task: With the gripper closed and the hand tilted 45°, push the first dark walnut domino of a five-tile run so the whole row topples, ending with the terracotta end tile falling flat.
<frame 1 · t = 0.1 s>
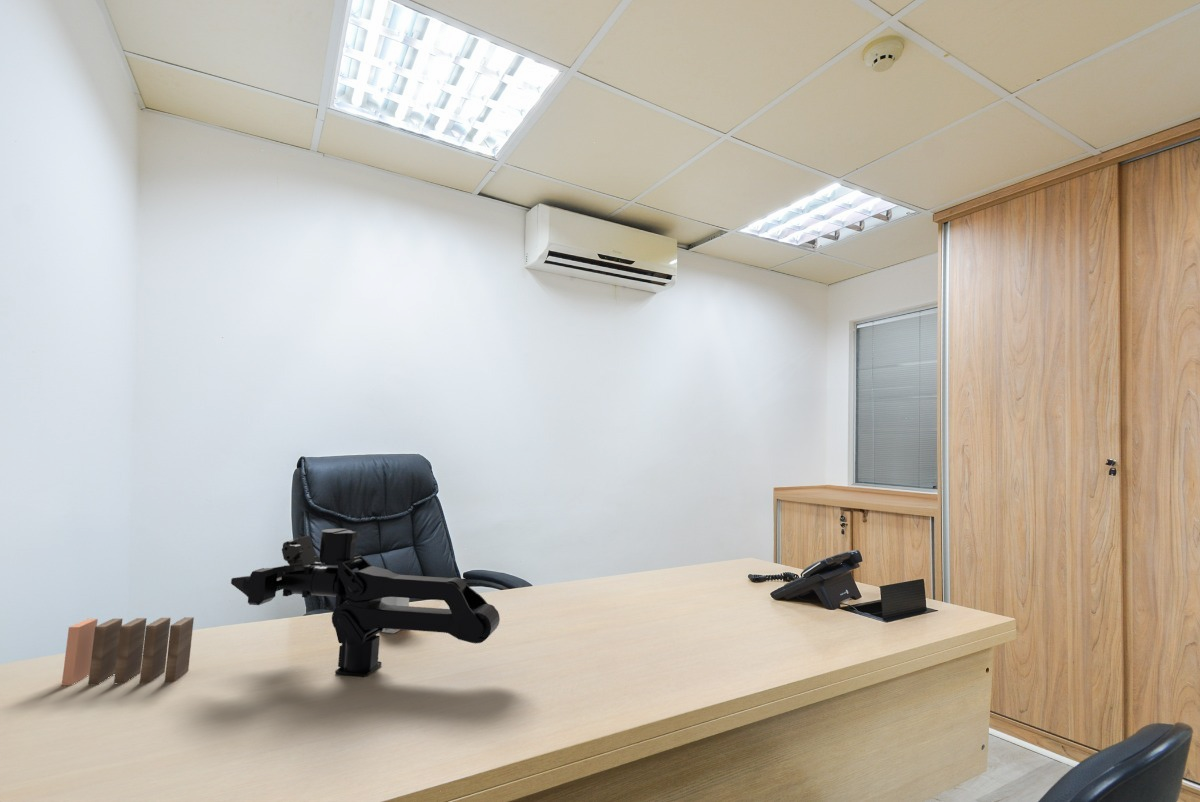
hand: (248, 576, 116), 17 cm above the table, tool horizontal, fingers open, 9 cm apart
domino 2: (152, 677, 105), on the table
domino 5: (76, 679, 102), on the table
skincare box: (393, 630, 137), on the table
domino 4: (102, 679, 103), on the table
domino 3: (127, 678, 104), on the table
domino 1: (176, 676, 105), on the table
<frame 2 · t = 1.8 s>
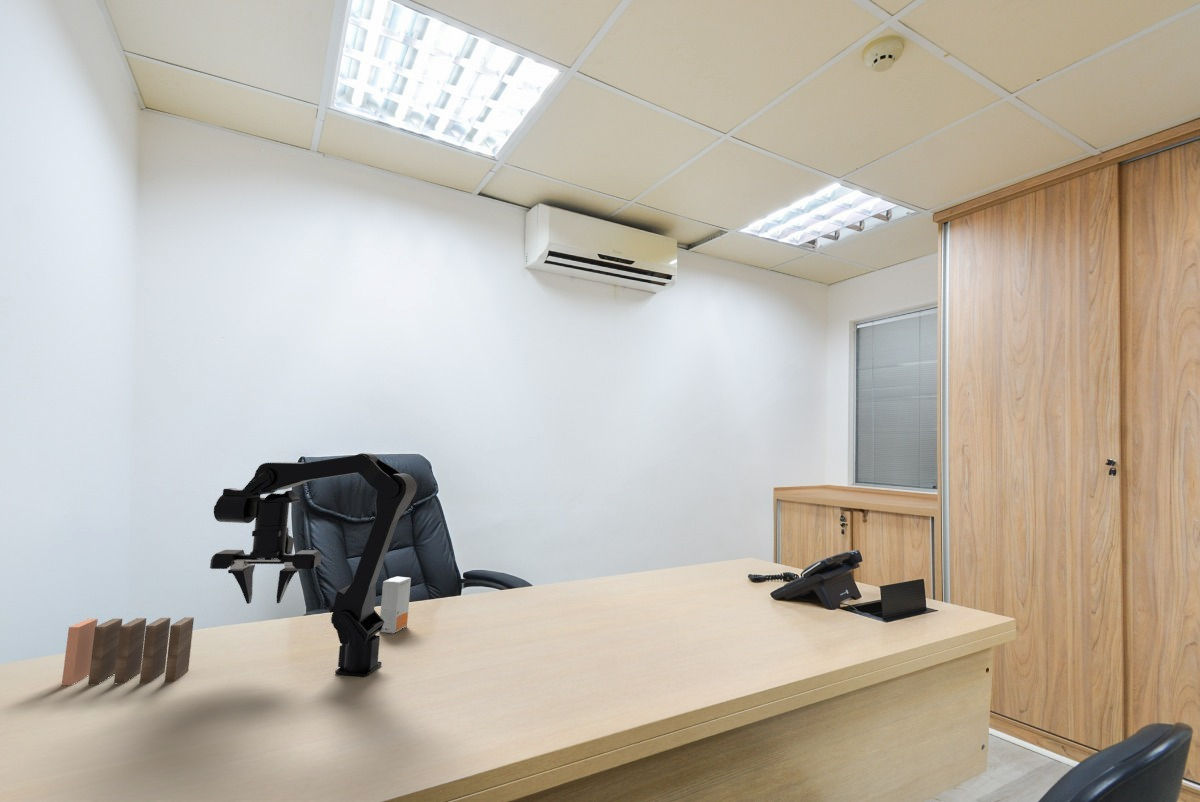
hand: (263, 603, 113), 12 cm above the table, tool pointing down, fingers open, 5 cm apart
nothing on the table moved.
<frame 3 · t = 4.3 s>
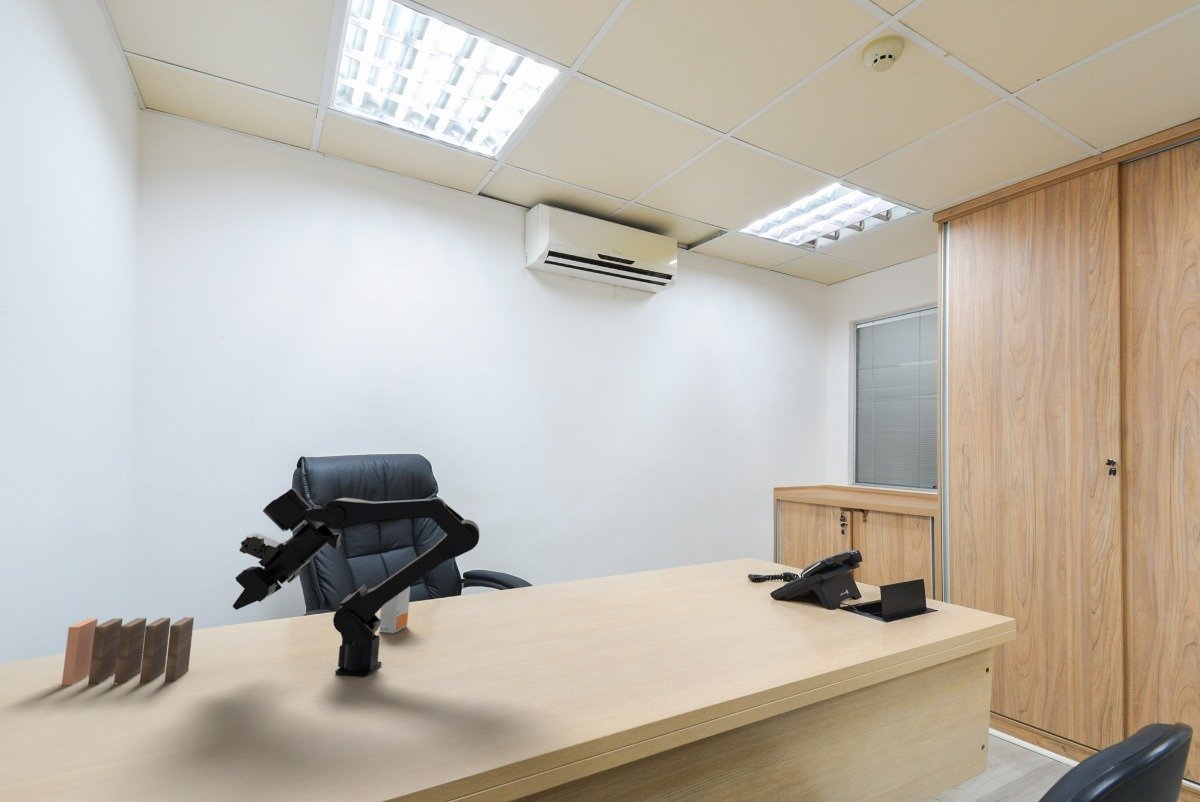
hand: (234, 607, 108), 12 cm above the table, tool tilted 45°, fingers closed
nothing on the table moved.
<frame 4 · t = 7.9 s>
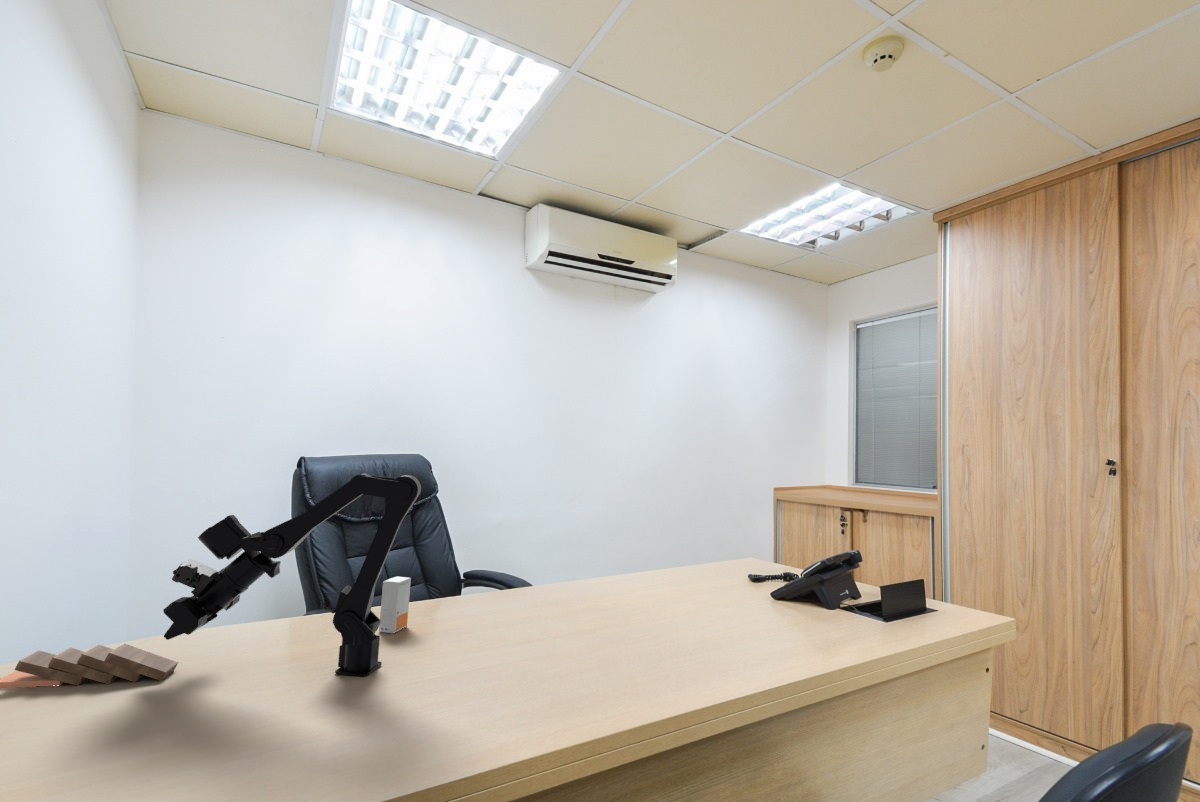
hand: (166, 637, 105), 7 cm above the table, tool tilted 45°, fingers closed
domino 2: (144, 672, 105), point 1 cm above the table, tilted 67°, touching domino 1, domino 3
domino 5: (69, 679, 102), on the table, tilted 90°, touching domino 4
domino 4: (88, 675, 102), point 1 cm above the table, tilted 71°, touching domino 3, domino 5
domino 3: (118, 674, 103), point 1 cm above the table, tilted 69°, touching domino 2, domino 4
domino 1: (169, 671, 106), point 1 cm above the table, tilted 67°, touching domino 2
everything else where it was.
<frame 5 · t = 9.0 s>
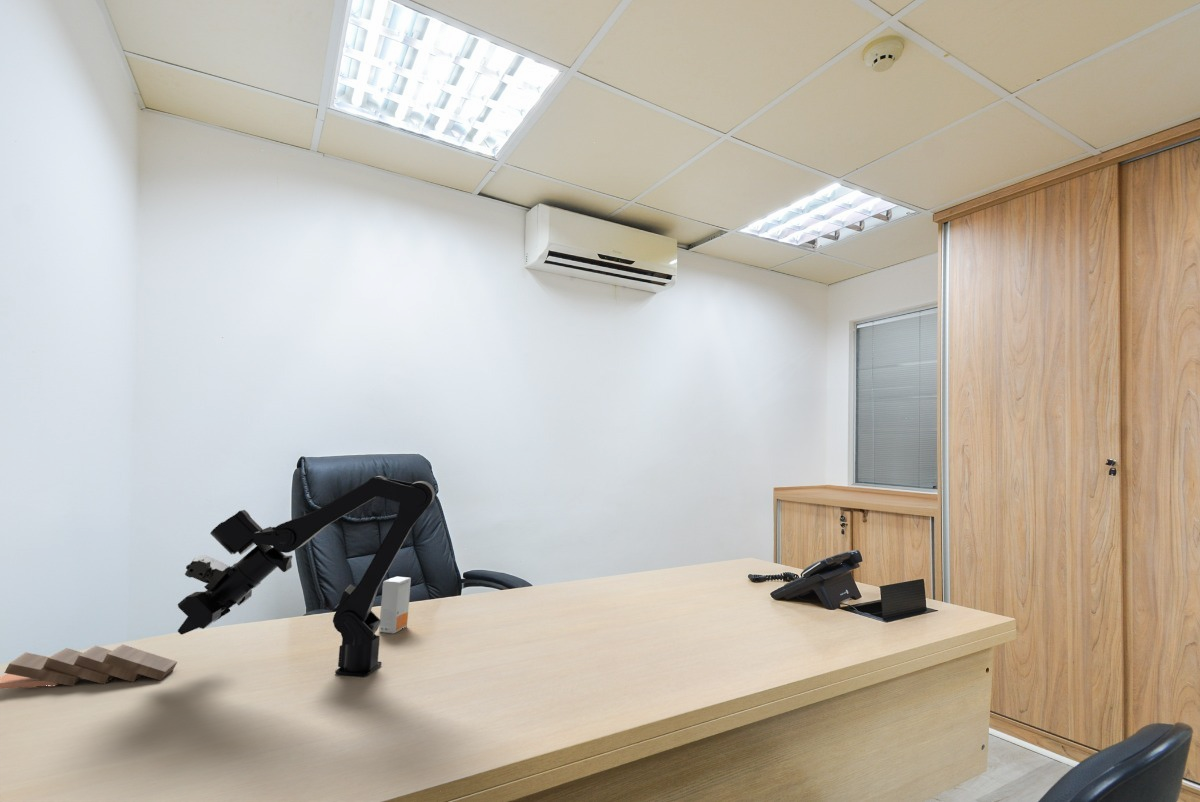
hand: (180, 632, 106), 8 cm above the table, tool tilted 45°, fingers closed
domino 2: (142, 672, 105), point 1 cm above the table, tilted 68°, touching domino 1, domino 3
domino 4: (81, 675, 102), point 1 cm above the table, tilted 71°, touching domino 5
domino 3: (114, 674, 103), point 1 cm above the table, tilted 69°, touching domino 2
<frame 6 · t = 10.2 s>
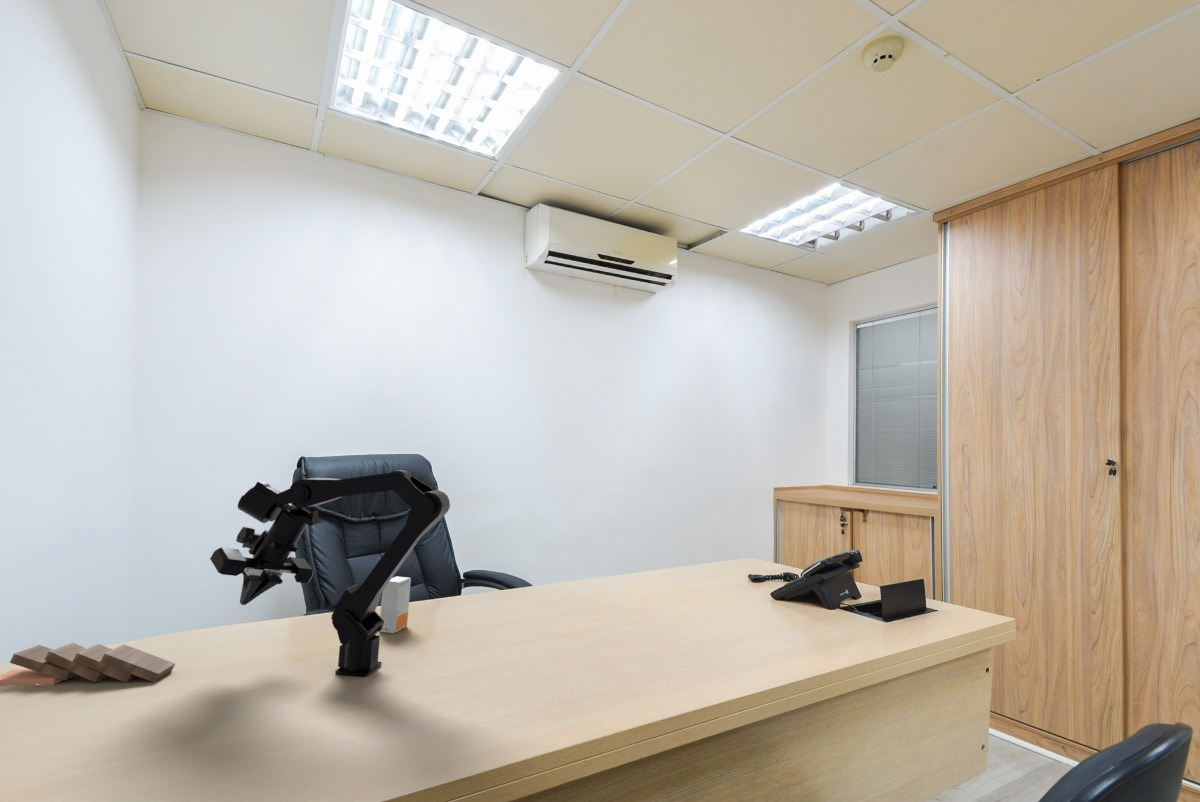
hand: (242, 603, 113), 12 cm above the table, tool tilted 25°, fingers closed
domino 5: (64, 677, 102), on the table, tilted 90°
domino 4: (78, 671, 103), point 1 cm above the table, tilted 73°, touching domino 3
domino 3: (109, 673, 103), point 1 cm above the table, tilted 68°, touching domino 2, domino 4
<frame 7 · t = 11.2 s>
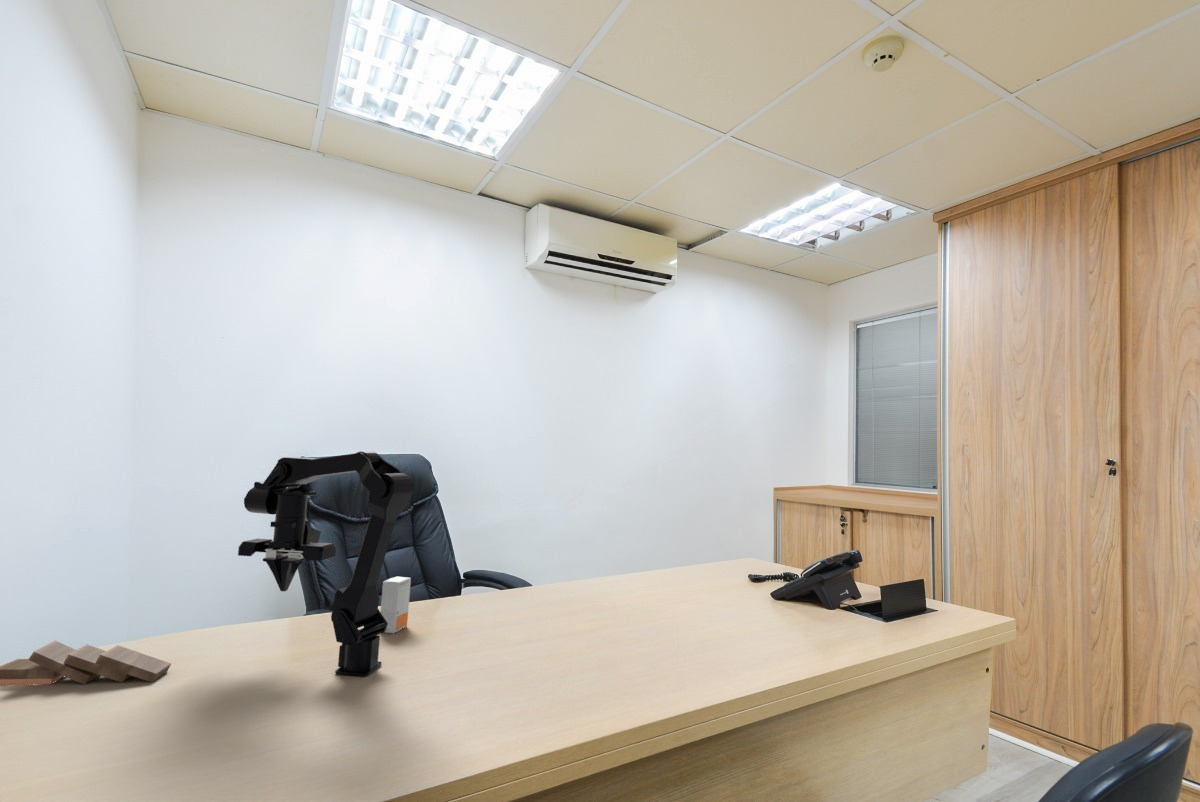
hand: (283, 590, 119), 13 cm above the table, tool pointing down, fingers closed
domino 2: (132, 672, 104), point 1 cm above the table, tilted 67°, touching domino 1
domino 5: (61, 677, 102), on the table, tilted 90°, touching domino 4
domino 4: (65, 668, 102), point 2 cm above the table, tilted 90°, touching domino 5
domino 3: (96, 674, 103), point 1 cm above the table, tilted 62°
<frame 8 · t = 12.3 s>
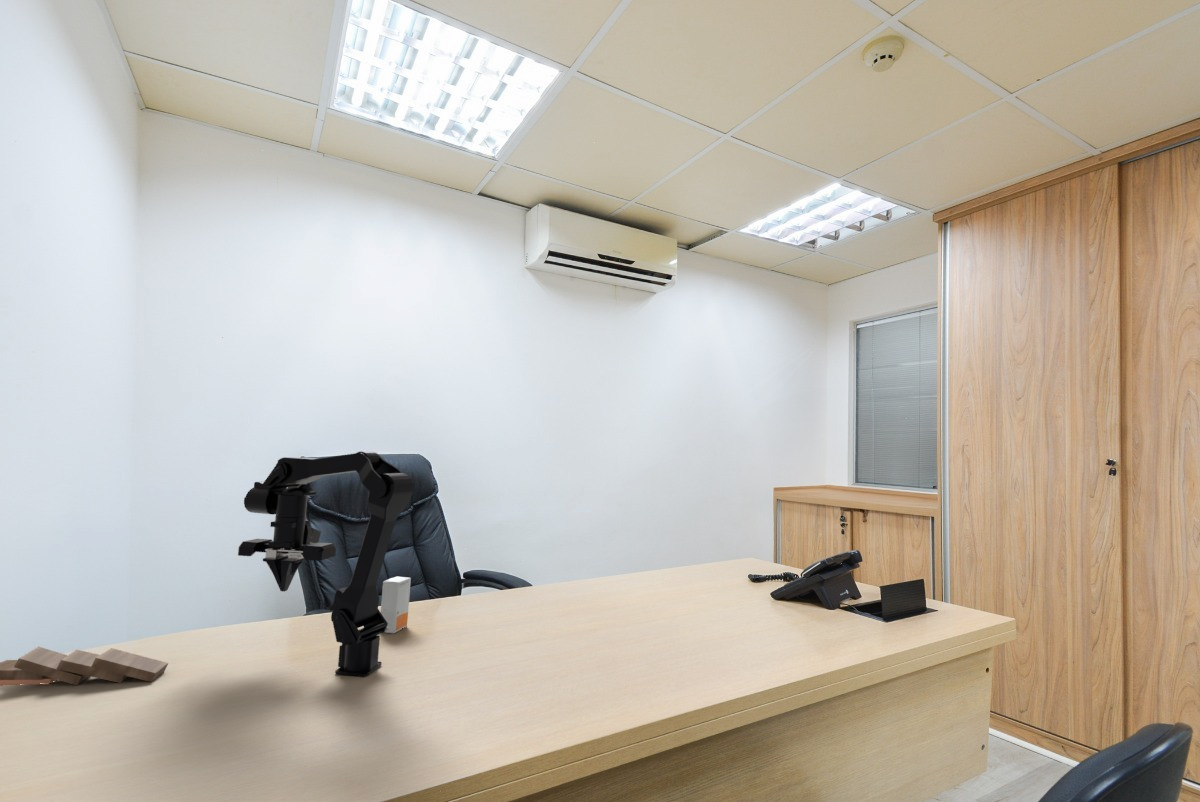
hand: (284, 590, 119), 13 cm above the table, tool pointing down, fingers closed
domino 4: (54, 669, 102), point 2 cm above the table, tilted 90°, touching domino 3, domino 5
domino 3: (87, 674, 102), point 1 cm above the table, tilted 68°, touching domino 4
at the end: domino 5 tilted 90°; domino 3 tilted 68°; domino 1 tilted 71° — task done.
